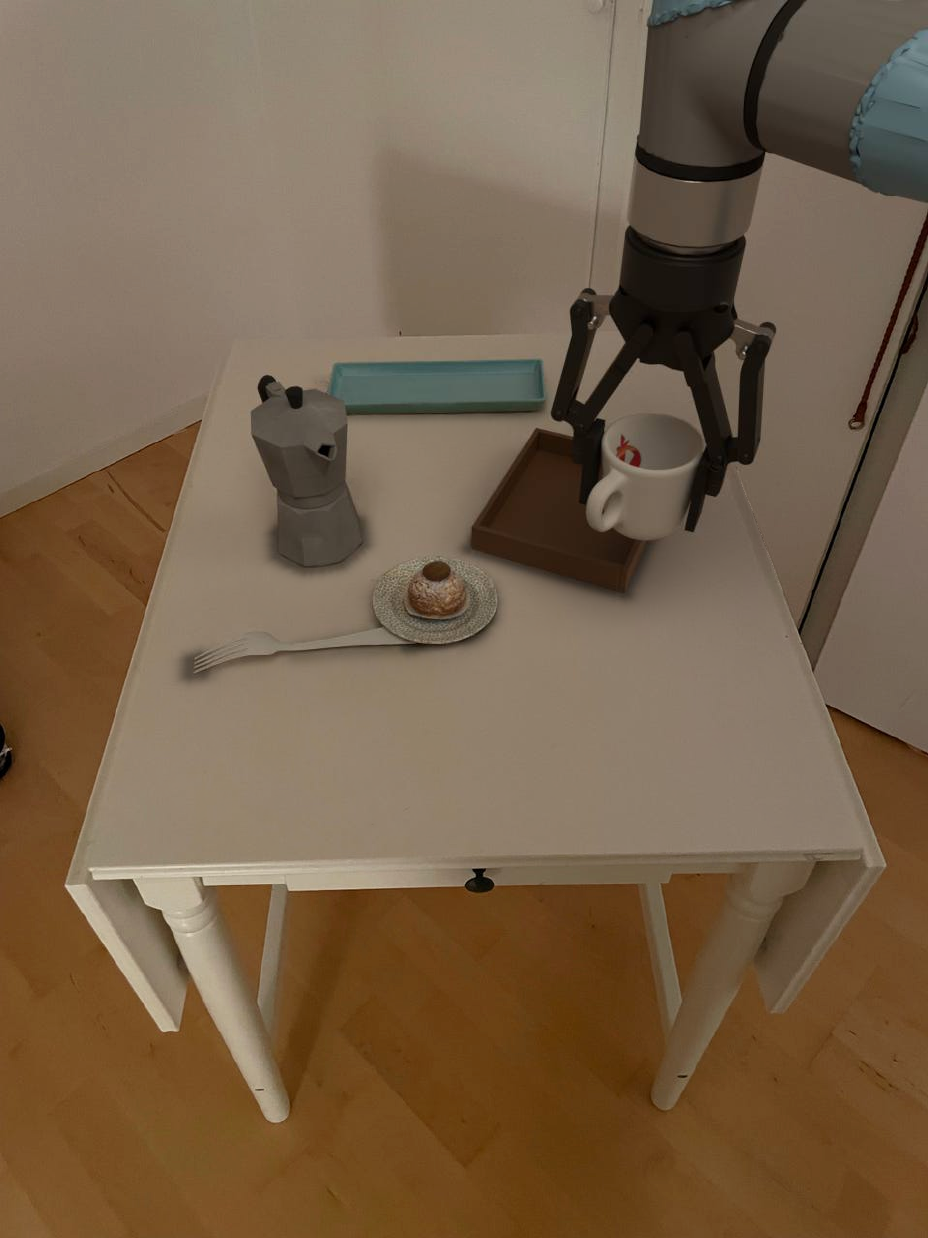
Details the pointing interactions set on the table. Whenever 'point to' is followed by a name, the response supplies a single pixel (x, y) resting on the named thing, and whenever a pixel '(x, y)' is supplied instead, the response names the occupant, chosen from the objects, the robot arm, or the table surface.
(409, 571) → the pastry
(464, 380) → the shallow long dish
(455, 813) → the table surface
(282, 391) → the coffeepot
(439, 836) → the table surface
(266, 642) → the fork
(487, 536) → the tray
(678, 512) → the cup
